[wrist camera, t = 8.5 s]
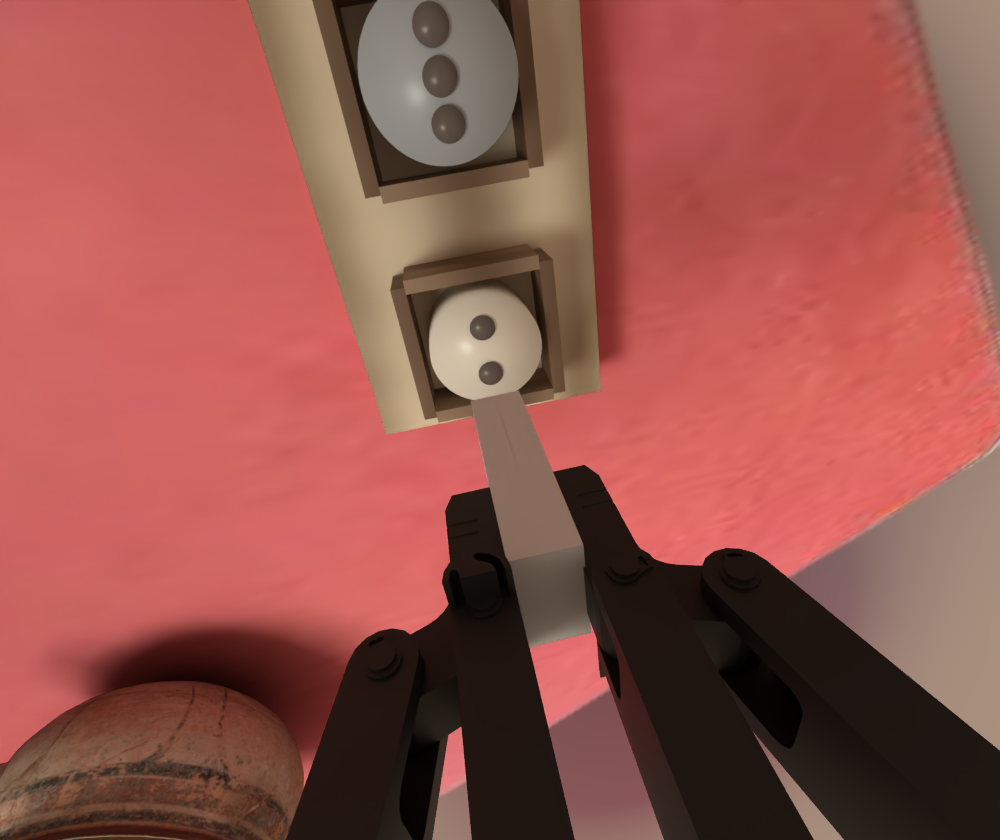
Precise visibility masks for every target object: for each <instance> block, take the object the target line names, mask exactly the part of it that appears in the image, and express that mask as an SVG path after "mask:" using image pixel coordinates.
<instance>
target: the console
mask: <svg viewBox="0 0 1000 840" xmlns="http://www.w3.org/2000/svg"><path fill="white" fill-rule="evenodd" d="M490 1H491V2H492V3H493V4H494V5H495V7H496V8H497V10H498V11H499V13H500V14H501V15H502V17H503V19H504V21H505V23H506V25H507V27H508V29H509V31H510V34H511V36H512V39H513V43H514V46H515V50H516V55H517V61H518V75H519V77H518V91H517V97H516V102H515V106H514V109H513V112H512V115H511V117H510V120H509V122H508V124H507V126H506V128H505V130H504V131H503V133H502V134H501V136H500V137H499V138H498V140H497V141H496V142H495V143H494V144H493V145H492V146H491V147H490V148H489V149H488V150H487V151H485V152H484V153H483V154H482V155H480V156H478V157H477V158H475V159H473V160H471V161H468V162H466V163H463V164H459V165H454V166H434V165H428V164H425V163H422V162H419V161H416V160H414V159H412V158H410V157H408V156H406V155H405V154H403V153H402V152H400V151H399V150H398V149H396V148H395V147H394V146H393V145H392V144H391V143H390V142H389V141H388V140H387V139H386V138H385V137H384V136H383V135H382V133H381V132H380V131H379V129H378V128H377V126H376V125H375V123H374V122H373V120H372V118H371V116H370V114H369V112H368V110H367V107H366V105H365V103H364V99H363V96H362V93H361V89H360V84H359V78H358V66H357V63H358V48H359V41H360V37H361V33H362V29H363V26H364V24H365V21H366V19H367V16H368V14H369V13H370V11H371V9H372V8H373V6H374V4H375V3H376V2H377V0H248V3H249V6H250V10H251V13H252V16H253V19H254V22H255V25H256V28H257V31H258V34H259V38H260V41H261V44H262V47H263V50H264V53H265V56H266V59H267V63H268V66H269V69H270V72H271V75H272V78H273V81H274V84H275V88H276V91H277V94H278V97H279V100H280V103H281V106H282V109H283V112H284V116H285V119H286V122H287V125H288V128H289V131H290V134H291V137H292V141H293V144H294V147H295V150H296V153H297V156H298V159H299V162H300V166H301V169H302V172H303V175H304V178H305V181H306V184H307V187H308V190H309V194H310V197H311V200H312V203H313V206H314V209H315V212H316V215H317V219H318V222H319V225H320V228H321V231H322V234H323V237H324V240H325V244H326V247H327V250H328V253H329V256H330V259H331V262H332V265H333V269H334V272H335V275H336V278H337V281H338V284H339V287H340V290H341V293H342V297H343V300H344V303H345V306H346V309H347V312H348V315H349V318H350V322H351V325H352V328H353V331H354V334H355V337H356V340H357V343H358V347H359V350H360V353H361V356H362V359H363V362H364V365H365V368H366V371H367V375H368V378H369V381H370V384H371V387H372V390H373V393H374V396H375V400H376V403H377V406H378V409H379V412H380V415H381V418H382V421H383V425H384V428H385V431H386V434H392V433H397V432H402V431H407V430H412V429H416V428H421V427H426V426H431V425H436V424H441V423H446V422H451V421H456V420H460V419H465V418H470V417H474V415H473V410H472V406H471V399H467V398H464V397H461V396H459V395H457V394H455V393H454V392H452V391H451V390H449V389H448V388H447V387H446V386H445V385H444V384H443V383H442V382H441V381H440V380H439V378H438V377H437V375H436V373H435V371H434V369H433V367H432V363H431V359H430V349H429V326H428V325H429V317H430V313H431V310H432V308H433V306H434V304H435V302H436V300H437V299H438V298H439V296H440V295H441V294H442V293H443V292H444V291H445V290H446V289H447V288H449V287H450V286H455V285H460V284H466V283H471V282H476V281H481V280H486V279H492V278H493V279H496V280H499V281H501V282H503V283H505V284H507V285H508V286H510V287H511V288H512V289H514V290H515V291H516V292H517V293H518V295H519V296H520V297H521V299H522V300H523V302H524V303H525V305H526V307H527V308H528V310H529V311H530V313H531V315H532V316H533V318H534V319H535V321H536V323H537V325H538V328H539V331H540V334H541V339H542V352H541V357H540V361H539V364H538V366H537V368H536V370H535V372H534V374H533V375H532V377H531V378H530V379H529V380H528V382H527V383H526V384H525V385H523V386H522V387H521V388H520V389H519V390H517V391H519V392H520V395H521V397H522V399H523V402H524V404H525V406H529V405H534V404H539V403H544V402H549V401H553V400H558V399H563V398H568V397H573V396H578V395H583V394H588V393H593V392H597V391H601V384H600V366H599V348H598V330H597V312H596V294H595V275H594V257H593V239H592V221H591V203H590V185H589V166H588V148H587V130H586V112H585V94H584V76H583V57H582V39H581V21H580V3H579V0H490Z"/></svg>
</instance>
